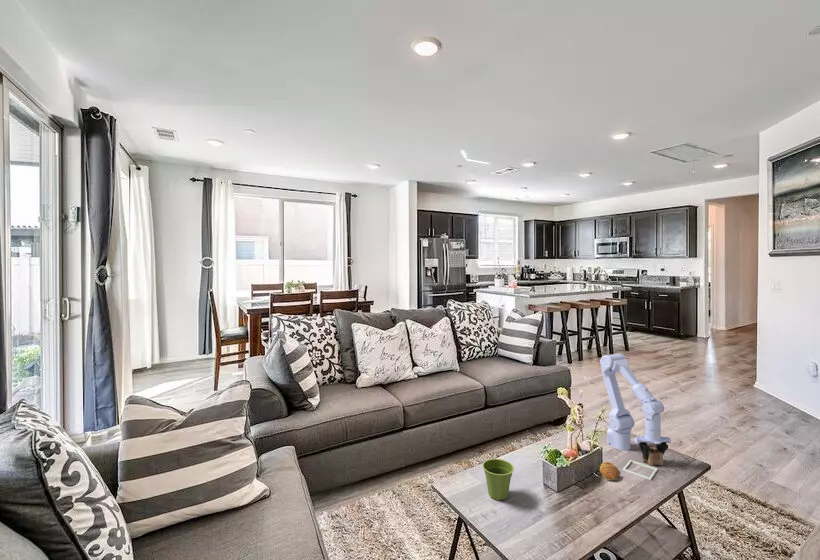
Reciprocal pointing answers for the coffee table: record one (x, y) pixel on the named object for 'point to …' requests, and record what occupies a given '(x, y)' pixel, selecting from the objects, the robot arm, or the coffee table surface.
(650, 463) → the brown framed cube
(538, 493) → the coffee table surface
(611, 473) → the pastry
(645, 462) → the grey base with peg
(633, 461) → the tray
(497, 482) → the plant pot
